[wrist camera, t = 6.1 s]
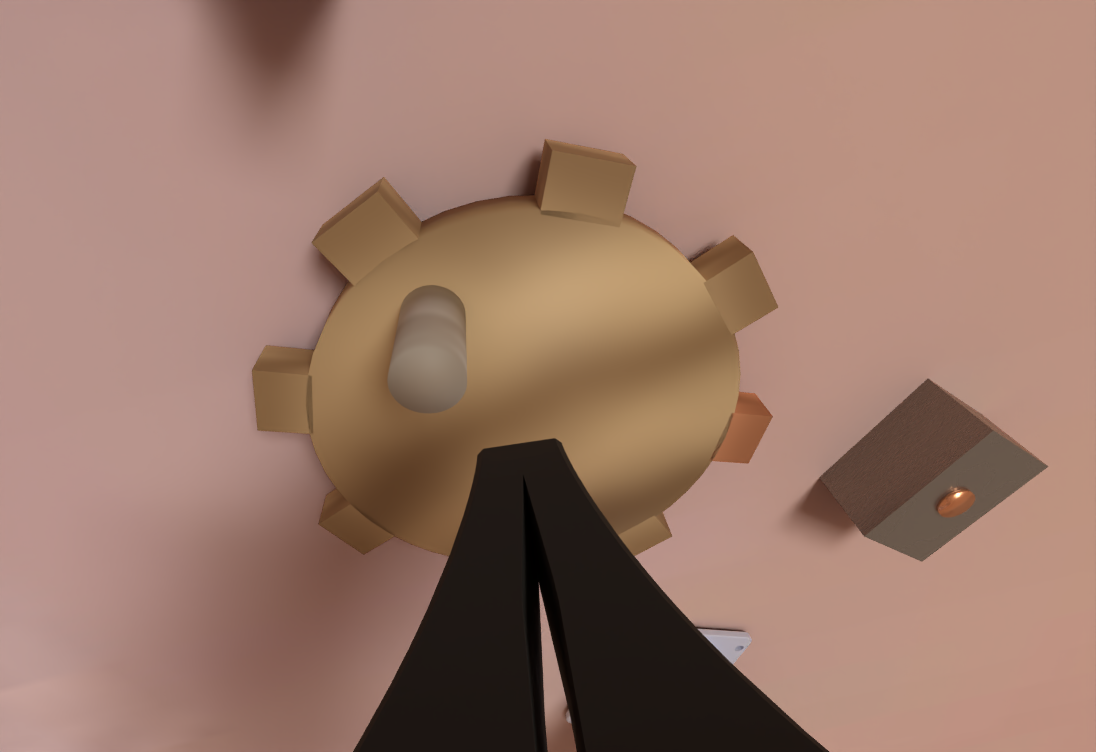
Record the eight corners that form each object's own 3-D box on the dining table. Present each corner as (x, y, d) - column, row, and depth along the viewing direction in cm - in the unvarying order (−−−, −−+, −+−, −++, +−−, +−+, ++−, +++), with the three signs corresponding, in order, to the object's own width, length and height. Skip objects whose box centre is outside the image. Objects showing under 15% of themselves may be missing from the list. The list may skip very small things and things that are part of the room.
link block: (871, 501, 27) (924, 564, 24) (817, 474, 25) (866, 539, 22) (977, 411, 24) (1051, 469, 21) (924, 376, 23) (996, 433, 20)
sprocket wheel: (822, 423, 22) (902, 515, 18) (481, 606, 26) (486, 716, 22) (618, -7, 13) (687, -12, 9) (143, 364, 17) (46, 475, 13)
